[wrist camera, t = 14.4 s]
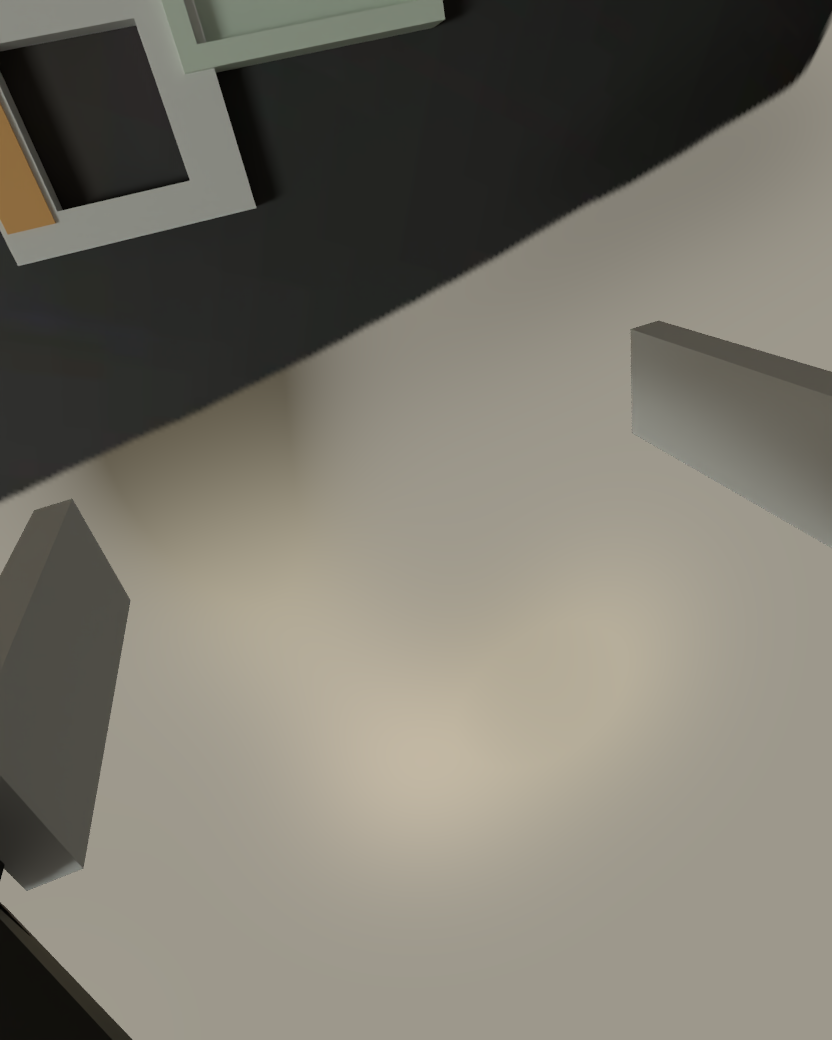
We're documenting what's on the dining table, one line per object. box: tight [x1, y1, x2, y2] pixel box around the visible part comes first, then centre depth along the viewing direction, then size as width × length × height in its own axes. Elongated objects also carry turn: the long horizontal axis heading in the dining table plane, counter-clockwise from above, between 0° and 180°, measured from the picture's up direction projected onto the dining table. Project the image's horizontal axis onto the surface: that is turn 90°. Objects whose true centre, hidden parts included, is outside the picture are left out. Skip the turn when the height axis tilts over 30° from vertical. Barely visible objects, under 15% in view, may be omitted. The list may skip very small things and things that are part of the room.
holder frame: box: [0, 0, 256, 266], centre depth 31 cm, size 13×11×2 cm
